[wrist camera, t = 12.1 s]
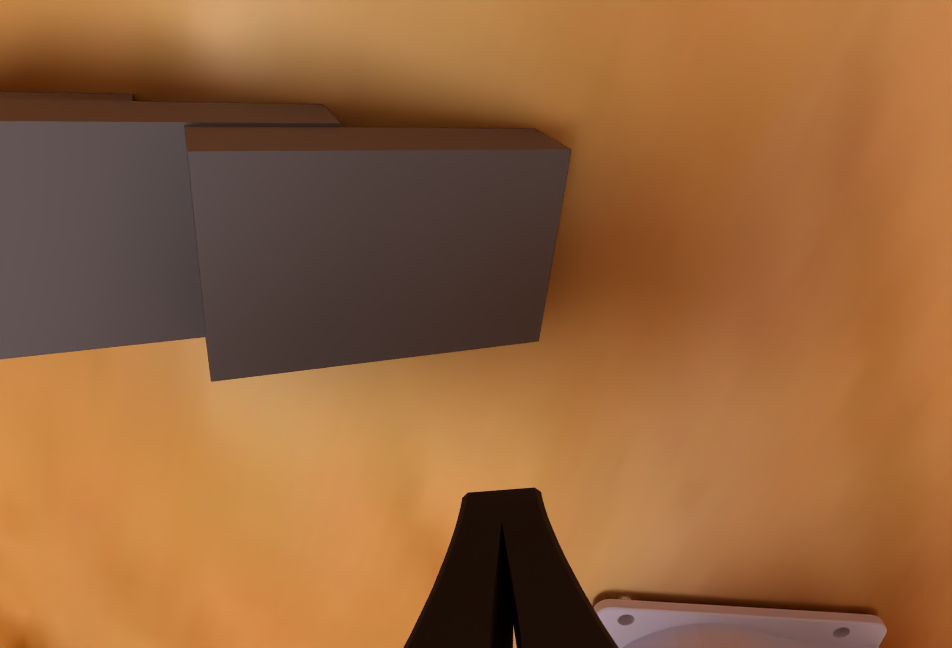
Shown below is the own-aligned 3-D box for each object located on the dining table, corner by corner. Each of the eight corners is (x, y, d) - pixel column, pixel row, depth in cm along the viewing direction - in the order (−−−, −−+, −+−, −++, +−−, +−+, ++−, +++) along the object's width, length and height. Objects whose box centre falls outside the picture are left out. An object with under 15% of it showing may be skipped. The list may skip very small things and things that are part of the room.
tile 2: (340, 122, 13) (-115, 120, 10) (339, 322, 15) (-40, 363, 13) (322, 103, 14) (-88, 96, 12) (323, 290, 17) (-24, 322, 14)
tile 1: (571, 149, 13) (187, 151, 11) (538, 341, 16) (211, 381, 13) (535, 128, 15) (183, 125, 12) (509, 308, 17) (205, 339, 14)
